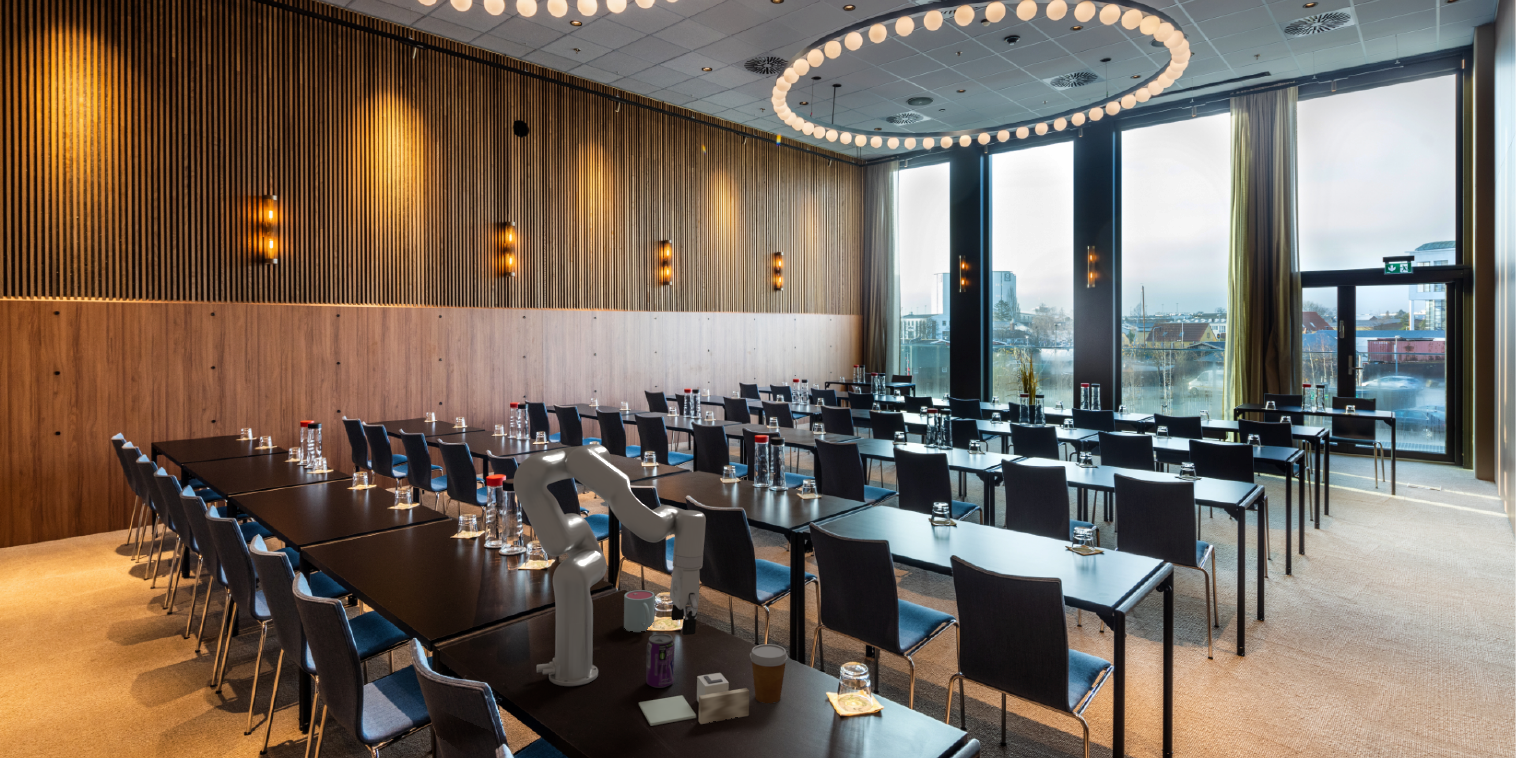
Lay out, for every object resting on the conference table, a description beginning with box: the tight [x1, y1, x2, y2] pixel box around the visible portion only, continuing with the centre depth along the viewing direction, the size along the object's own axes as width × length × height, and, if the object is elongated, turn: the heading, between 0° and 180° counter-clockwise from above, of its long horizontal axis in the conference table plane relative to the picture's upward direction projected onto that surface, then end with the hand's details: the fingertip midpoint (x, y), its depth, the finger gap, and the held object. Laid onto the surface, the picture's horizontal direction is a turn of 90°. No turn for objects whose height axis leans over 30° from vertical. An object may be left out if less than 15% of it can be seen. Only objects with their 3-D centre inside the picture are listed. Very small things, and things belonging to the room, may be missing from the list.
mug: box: [623, 589, 656, 633], centre depth 235 cm, size 14×9×10 cm
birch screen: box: [698, 687, 750, 725], centre depth 180 cm, size 12×2×6 cm, turn 113°
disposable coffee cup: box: [749, 643, 789, 704], centre depth 191 cm, size 10×10×12 cm
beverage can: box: [645, 633, 675, 689], centre depth 198 cm, size 7×7×12 cm
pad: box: [638, 695, 697, 726], centre depth 183 cm, size 11×11×1 cm
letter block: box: [696, 672, 730, 703], centre depth 187 cm, size 6×6×6 cm
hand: (682, 626), depth 194 cm, fingers open, 9 cm apart
